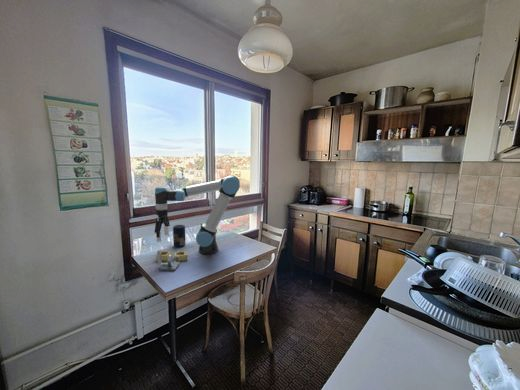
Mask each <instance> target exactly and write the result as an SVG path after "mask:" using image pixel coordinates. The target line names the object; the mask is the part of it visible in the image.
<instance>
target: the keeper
mask: <svg viewBox="0 0 520 390" xmlns="http://www.w3.org/2000/svg"><path fill="white" fill-rule="evenodd" d="M162 251H163V250H162V249H161V250H157V252H156V253H157V254H156V255H157V258H158V261H157V266H158V267H159V268H158V270H159V272H175V271H176V270H177V269H178V268H179V266H180V265H181V261H179V262H175V261H172V260H173V258H172V257H171V255H168V261H164V262H163V261H162Z"/></svg>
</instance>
